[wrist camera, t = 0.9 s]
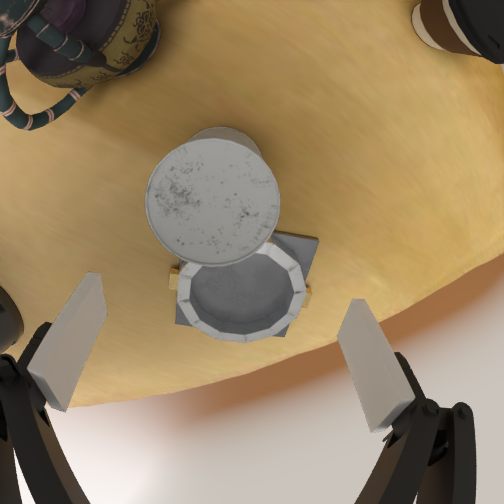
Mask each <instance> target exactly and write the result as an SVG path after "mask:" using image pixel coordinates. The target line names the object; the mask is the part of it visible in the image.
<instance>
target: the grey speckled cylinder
mask: <svg viewBox="0 0 504 504" xmlns="http://www.w3.org/2000/svg"><path fill="white" fill-rule="evenodd" d="M145 209H146V214H147V219H148V222H149V224H150V227H151V229H152V231H153V233H154V235H155V236H156V237H157V239H158V240H159V242H160V243H161V244H162V245H163V246H164V247H165V248H166V249H167V250H168V251H169V252H171V253H172V254H174V255H175V256H177V257H179V258H180V259H182V260H184V261H187V262H190V263H193V264H195V265H201V266H208V267H215V266H226V265H230V264H234V263H238V262H240V261H242V260H244V259H246V258H248V257H250V256H252V255H253V254H254V253H255V252H257V251H258V250H259V249H261V248H262V247H263V245H264V244H265V243H266V242H267V241H268V239H269V238H270V237H271V235H272V233H273V231H274V229H275V227H276V225H277V222H278V218H279V214H280V193H279V188H278V184H277V181H276V179H275V177H274V175H273V173H272V171H271V169H270V167H269V166H268V165H267V164H266V163H265V161H264V159H263V158H262V155H261V153H260V151H259V149H258V147H257V145H256V144H255V143H254V142H253V141H252V140H251V138H250V137H248V136H247V135H245V134H244V133H242V132H240V131H238V130H235V129H233V128H227V127H212V128H209V129H205V130H202V131H200V132H199V133H197V134H195V135H194V136H192V137H191V138H190V139H189V140H188V141H187V142H185V143H184V144H182V145H181V146H179V147H177V148H176V149H174V150H172V151H171V152H169V153H168V154H167V155H166V156H165V157H164V158H163V159H162V160H161V161H160V162H159V163H158V165H157V166H156V168H155V169H154V171H153V173H152V174H151V176H150V179H149V182H148V185H147V188H146V196H145Z"/></svg>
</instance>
